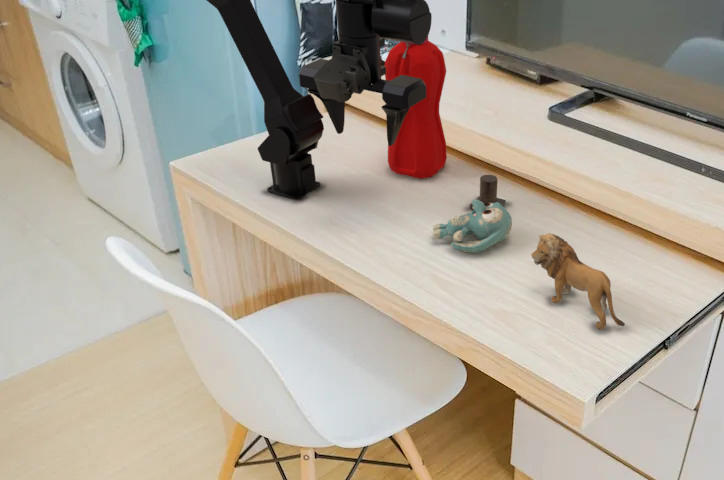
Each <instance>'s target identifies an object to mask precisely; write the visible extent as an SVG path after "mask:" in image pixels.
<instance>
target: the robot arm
mask: <svg viewBox="0 0 724 480" xmlns="http://www.w3.org/2000/svg"><path fill="white" fill-rule="evenodd" d="M206 1H207V2H208V3H209V4H210V5H212V6H213V7H214V8H215V9H216V10H217V11H218V13H219V15H220V17H221V18H222V19H221V20H222V21H223V23H224V25H225V26H226V29H227V31H228V33H229V34H230V37H231V39H232V41H233V43H234V45H235V46H236V48H237V50H238V52H239V55H240V56H241V58H242V60H243V62H244V65H245V66H246V68H247V70H248V72H249V74H250V76H251V78H252V80H253V82H254V83H255V86H256V88H257V90H258V91H259V94H260V96H261V98H262V100H263V103H264V104H263V123H264V125H265V128H266V131H267V134H268V135H267V137H266V138H265V139H264V140H263V141H262V142H261V143H260V144H259V146H258V147H257V151H258V154H259V156H260V158H261V161H263V162H267V163H269V166H270V173H271V179H272V185H270V186H269V187H267V188H266V190H267V191H266V192H268V193H271V194H273V195H278V196H282V197H285V198H289V199H292V200H296V201H298V200H301V199H302V198H304V197H306V196H307V195H309V194H310V193H312V192H313V191H315V190H316V189H318V188H320V187H321V186H322V185H321V182H320V181H317V179H316V170H315V164H313V158H312V154H311V153H310V152H311V151H313V150H316V149H317V148H318V145H319V141H320V140H321V138H322V137H323V132H324V130H325V127H324V122H323V120H322V119H324V115H323V114H322V113H321V112H320V110H319V108H318V107H317V104H316V101H315V98H314V97H313V96H315V97H316V98H317V99H319V100H320V101H321V102H322V104H323V106H324V108H325V109H326V112H327V114H328V116H329V118H330V121H331V123H332V125H333V127H334V129H335V131H336V133H337V134H339V135H341V134H343V132H344V129H345V128H344V127H345V115H346V114H345V112H346V107H345V106H346V102H348V101H349V100H351V98H352V96H353V95H354V94H358V95H361V94H362V93H363V92H364V91H368V92H372V93H377V94H381V99H382V101H383V102H384V103H385V104H383V105H382V106H381V110H382V111H383V112H384V113H385V117H386V119H385V120H386V140H387V146H388V145H389V146H392V145H393V144H394V143H395V141H396V138H397V136H398V133H399V131H400V128H401V126H402V123H403V121H404V118H405V116H406V114H407V112H408V111H409V109H410V107H411V106H413V105H415V104H416V103H418V102H420V101H421V100H423V99H425V98H426V85H425V83H424V82H423V80H422V79H420V78H415V77H410V76H405V75H400V76H398V77H396V78H394V79H393V80H391V81H388V80H386V79H382V77H383V76H385V74H386V67H385V66H383V65H382V62H381V48H382V47H384V46H386V41H385V40H390V41H395V42H399V43H400V42H406V43H411V44H417V45H421V44H422V43H424V42H425V40H426V39H427V37H428V38H429V35H430V31H431V27H432V17H433V16H432V12H431V10H430V7H429V4H428V3H427V1H426V0H335V12H336V23H337V36H338V37H337V38H338V40H337V41H333V42H332V44H333V45H332V55H331V58H330V59H326V58H325V59H324V58H319V59H316V60H313V61H311V62H309V63H307V64H305V65H303V66H301V68H300V69H299V73H298V79H299V86H300V88H305V89H307V92H308V94H306V95H303V94H301V93H300V92H299V91H298V90H296V89H295V87H294V86H293V85H292V83H291V80H290V78H289V76H288V74H287V72H286V70H285V69H284V66H283V64H282V62H281V60H280V57H279V56H278V54H277V52H276V50H275V48H274V46H273V44H272V42H271V40H270V38H269V35H268V34H267V31H266V30H265V28H264V25H263V24H262V21H261V19H260V17H259V15H258V14H257V13H258V12H257V11H256V9H255V7H254V4H253V3H252V1H251V0H206ZM312 95H313V96H312Z"/></svg>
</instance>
